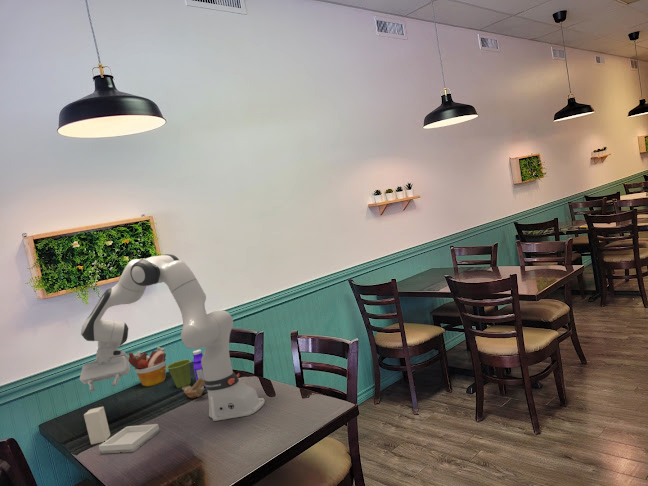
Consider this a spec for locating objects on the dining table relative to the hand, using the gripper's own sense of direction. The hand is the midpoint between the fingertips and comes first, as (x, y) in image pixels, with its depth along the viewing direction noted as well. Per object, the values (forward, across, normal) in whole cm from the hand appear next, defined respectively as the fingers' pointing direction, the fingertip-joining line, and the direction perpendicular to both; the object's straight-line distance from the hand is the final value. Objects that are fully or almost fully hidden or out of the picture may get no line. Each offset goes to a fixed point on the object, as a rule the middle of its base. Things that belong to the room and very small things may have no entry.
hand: (103, 387), depth 203 cm
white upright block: (+21, 0, +3) cm, 21 cm away
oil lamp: (+1, +31, +24) cm, 39 cm away
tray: (+28, +15, -4) cm, 32 cm away
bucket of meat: (-27, +1, +51) cm, 57 cm away
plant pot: (-14, +21, +38) cm, 46 cm away
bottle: (-8, +34, +32) cm, 47 cm away
